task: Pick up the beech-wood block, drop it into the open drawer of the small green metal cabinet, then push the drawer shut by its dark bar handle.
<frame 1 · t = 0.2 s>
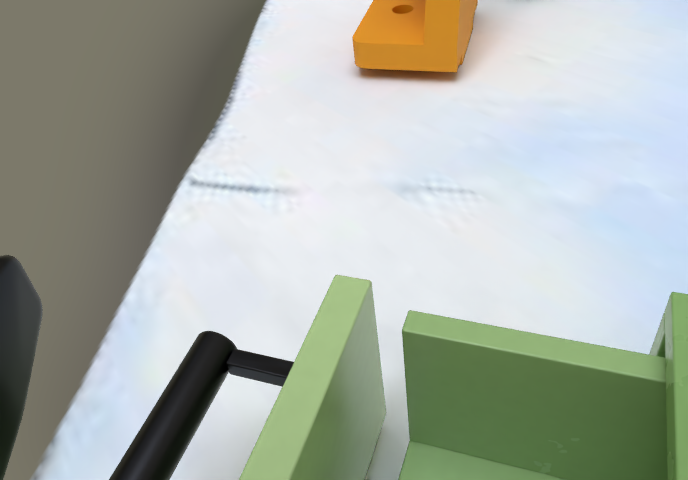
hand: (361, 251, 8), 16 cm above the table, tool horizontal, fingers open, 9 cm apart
bracket: (418, 47, 48), on the table
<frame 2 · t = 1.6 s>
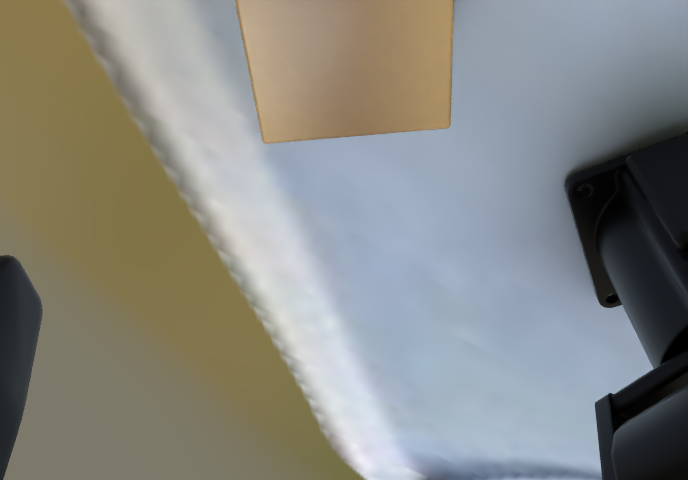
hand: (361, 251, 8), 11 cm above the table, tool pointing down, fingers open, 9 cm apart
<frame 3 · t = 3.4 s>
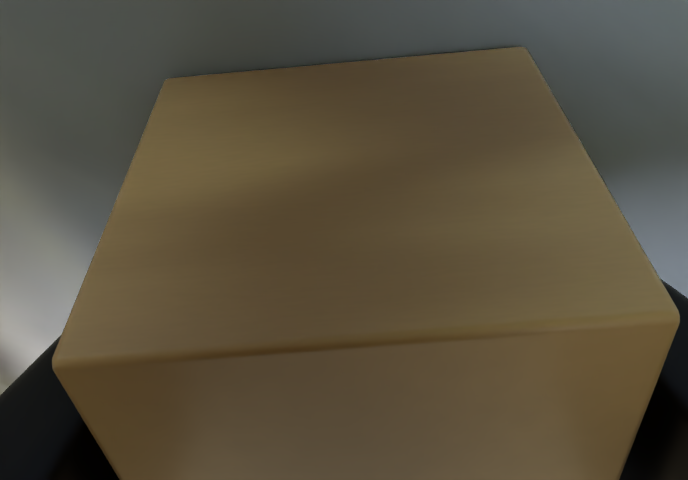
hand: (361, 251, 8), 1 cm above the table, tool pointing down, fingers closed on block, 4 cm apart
block: (356, 204, 9), on the table, touching gripper
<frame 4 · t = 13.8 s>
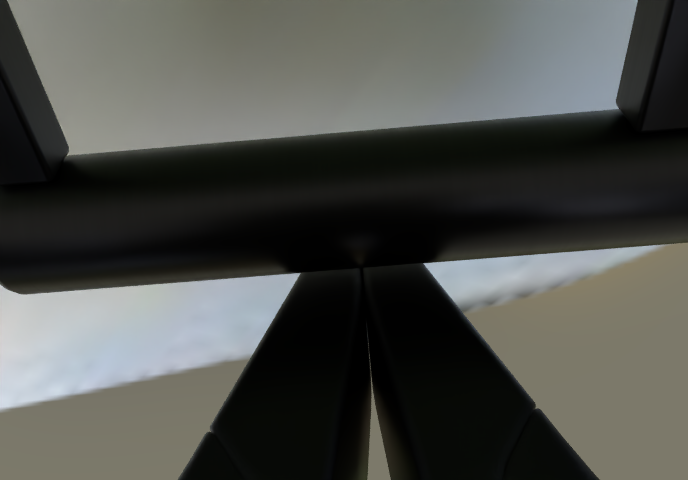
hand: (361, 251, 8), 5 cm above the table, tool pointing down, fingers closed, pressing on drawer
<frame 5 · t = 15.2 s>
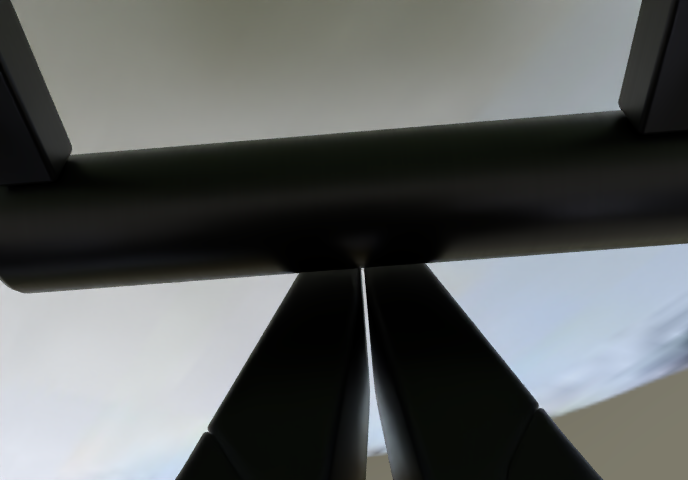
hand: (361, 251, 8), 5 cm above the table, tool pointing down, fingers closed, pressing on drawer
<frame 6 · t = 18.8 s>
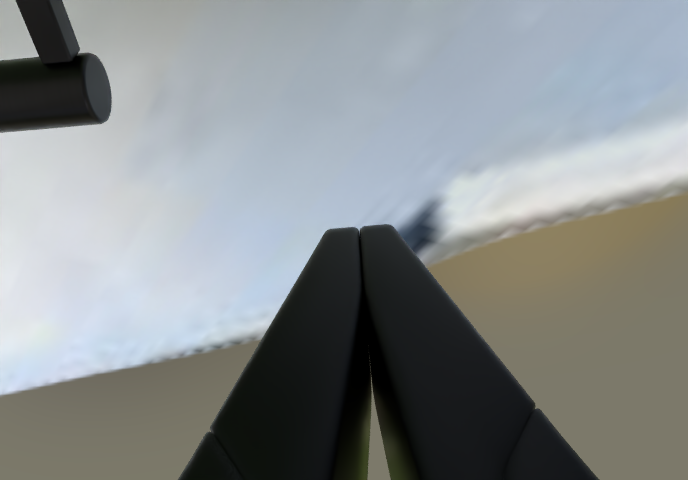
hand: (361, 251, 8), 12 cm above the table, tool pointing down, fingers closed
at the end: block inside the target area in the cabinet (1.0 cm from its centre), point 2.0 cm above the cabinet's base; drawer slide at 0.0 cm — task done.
